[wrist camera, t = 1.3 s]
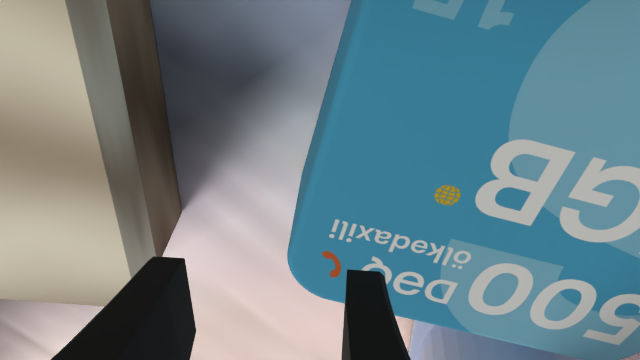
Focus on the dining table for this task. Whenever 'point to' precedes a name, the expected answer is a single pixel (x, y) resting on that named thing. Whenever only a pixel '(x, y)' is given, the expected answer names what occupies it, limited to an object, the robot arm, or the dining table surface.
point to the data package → (483, 169)
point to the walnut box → (147, 114)
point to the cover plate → (66, 158)
